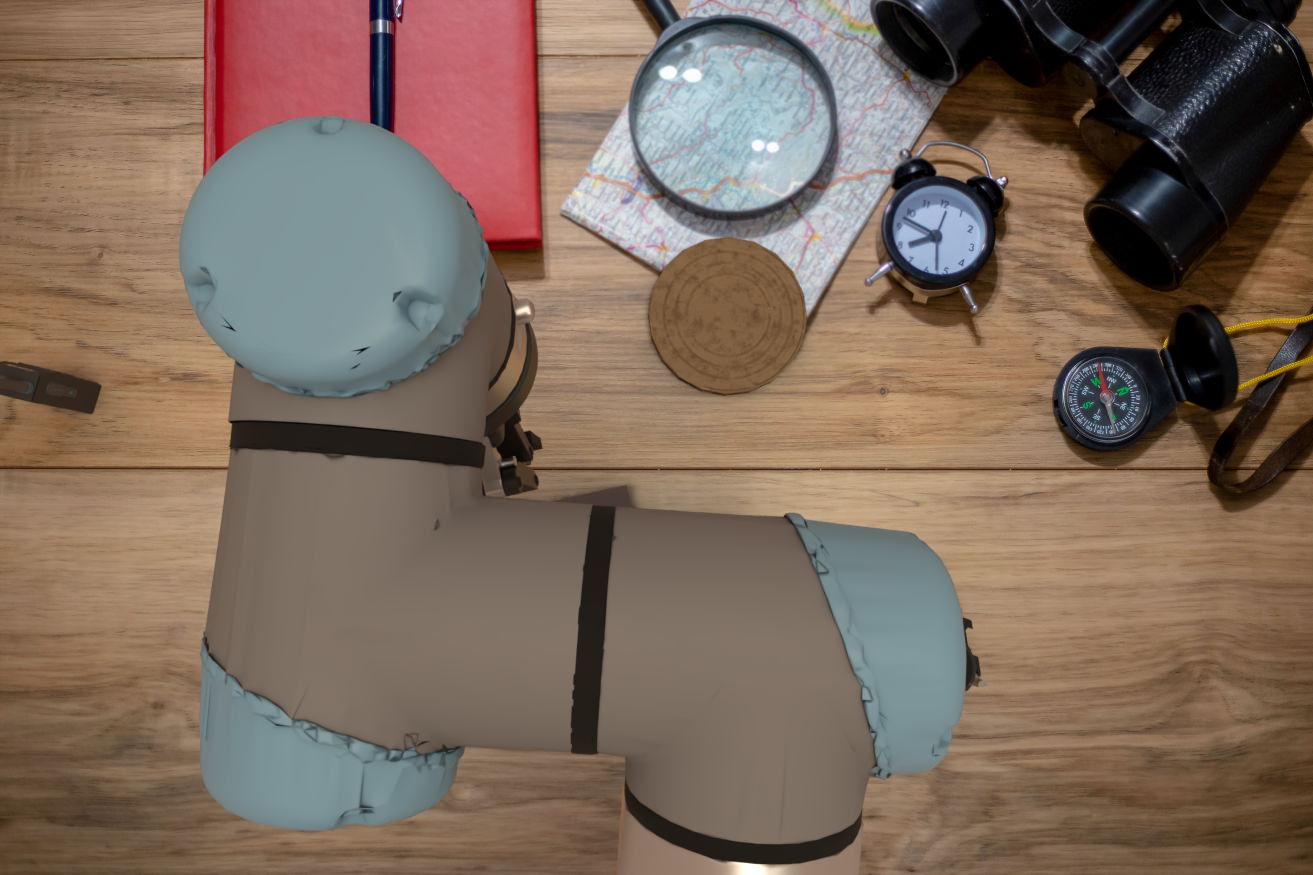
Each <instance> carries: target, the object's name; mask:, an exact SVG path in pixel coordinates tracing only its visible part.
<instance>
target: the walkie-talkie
mask: <svg viewBox="0 0 1313 875" xmlns="http://www.w3.org/2000/svg"><path fill="white" fill-rule="evenodd" d="M101 390H102V384H100V383H98V382H95V381H91V380H87V379H84V378H79V377H76V376H75V375H73V374H69V373H65V372H62V371H57V370H54V369H50V368H46V367H41V366H38V365H34V364H30V363H24V362H21V361H18V362H15V361H8V360H2V361H1V360H0V396H3V397H8V398H10V399H14V400H15V399H16V400H20V401H23V402H28V403H31V404H37V405H43V406H48V407H54V408H58V409H62V410H63V409H64V410H69V411H72V412H73V411H74V412H77V413H82V414H87V415H93V414H94V413H95V409H96V406H97V402H98V400H99V396H100V393H101Z"/></svg>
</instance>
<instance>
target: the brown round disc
mask: <svg viewBox="0 0 1313 875" xmlns="http://www.w3.org/2000/svg"><path fill="white" fill-rule="evenodd" d="M648 309H649V310H648V323H649V331H650V338H651V342H652V344H653V346H654V348H655V350H656V352H657V354H658V357H659V359H660V360H661V363H662V364H663V365H664V366H665V367H666V368H667V369H668V370H669V371H670V372H671V373H672V374H673V375H674V376H675V377H676V378H677V380H679V381H681V382H683V383H684V384H687V385H688V386H689V387H692V388H693V389H695V390H697V391H699V392H703V393H707V394H713V395H716V396H717V395H718V396H724V397H726V396H733V395H742V394H743V395H744V394H749V393H751V392H753V391H756V390H757V389H760V388H763V387H764V386H766V385H768V384H770V383H772V382H773V381H774V380H775V379H776V378H778V377H779V375H780V374H782V373H783V372H784V371H785V370H786V369H787V368H788V367H789V366H790V365H791V364H792V363H793V361H794V359H795V358H796V356H797V353H798V351H799V350H800V348H801V346H802V344H803V343H804V338H805V332H806V326H807V321H808V314H807V306H806V300H805V293H804V291H803V289H802V287H801V285H800V283H799V281H798V278H797V277H796V274H795V273H794V270H792V269H791V267H789V265H787V264H786V262H785V261H784V260H783V259H782V258H781V257H780V256H779V255H778V253H776V252H774V251H772V250H770V249H769V248H767V247H765V246H763V245H761V244H760V243H758V242H755V241H753V240H749V239H743V238H737V237H732V236H725V237H718V238H717V237H716V238H709V239H704V240H702V241H700V242H698V243H695V244H693V245H690V246H689V247H687V248H684V249H683V250H681V251H680V252H679V253H678V254H676V256H675V257H673V259H672V260H671V261H669V263H667V264H666V265H665V266H664V268H663V270H662V272H661V273H660V275H659V277H658V278H657V280H656V282H655V284H654V286H653V288H652V293H651V299H650V303H649V308H648Z"/></svg>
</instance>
